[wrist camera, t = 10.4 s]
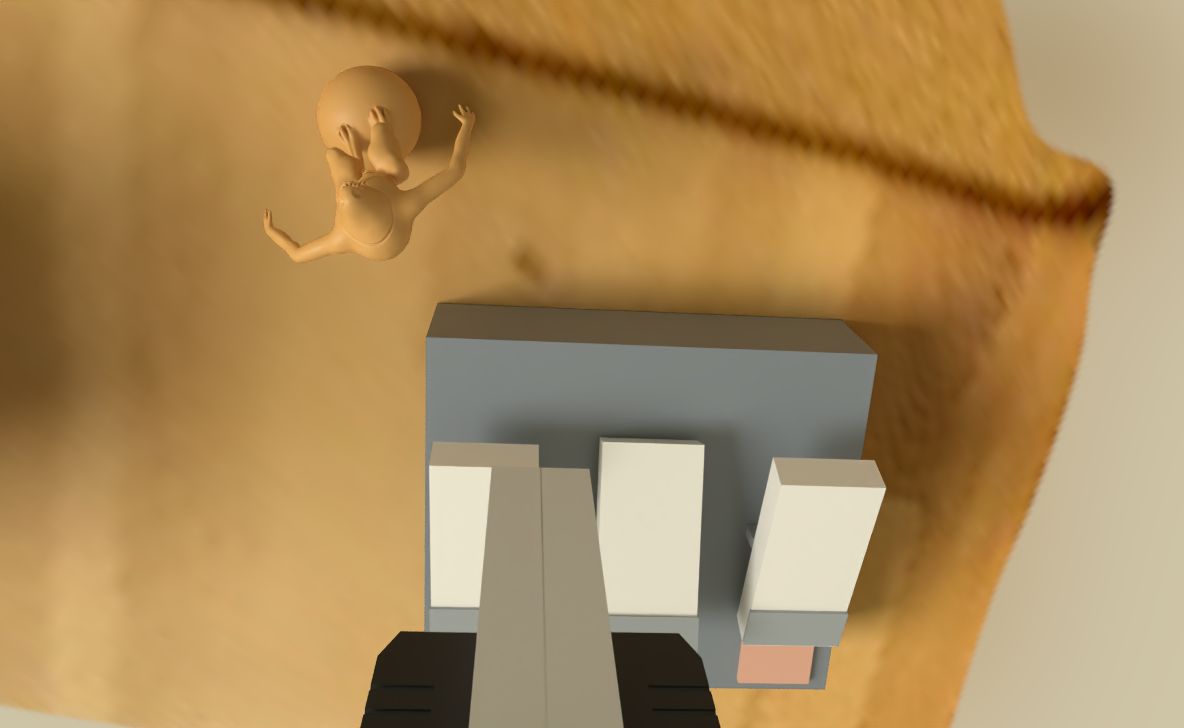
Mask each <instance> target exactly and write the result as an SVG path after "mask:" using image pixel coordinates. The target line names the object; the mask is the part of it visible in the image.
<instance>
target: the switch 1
mask: <svg viewBox="0 0 1184 728" xmlns="http://www.w3.org/2000/svg"><path fill="white" fill-rule="evenodd" d="M492 466H506V467H539V445H533V444H501V443H468V442H435V441H433V445H432V451H431V457H430V463H429V495H430V570H431V606H430V608H429V619H430V632H469V633H477V628H478V617H479V606H480V594H481V583H482V571H483V560H484V549H485V537H486V526H487V515H488V503H489V492H490V481H491V469H492Z"/></svg>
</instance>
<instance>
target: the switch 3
mask: <svg viewBox="0 0 1184 728" xmlns="http://www.w3.org/2000/svg"><path fill="white" fill-rule="evenodd" d="M885 491H886V486H885V484H884V481H883V479H882V477H881V474H880V472H879V470H878V467H877V465H876V462H875V460H850V459H817V458H784V457H773V460H772V464H771V469H770V473H769V477H768V482H767V486H766V490H765V495H764V499H763V503H762V508H761V512H760V517H759V521H758V525H757V530H756V534H755V538H754V543H753V547H752V552H751V556H750V560H749V565H748V569H747V573H746V578H745V582H744V586H743V591H742V595H741V600H740V604H739V608H738V613H737V619H738V624H739V629H740V634H741V639H742V643H743V645H764V646H827V647H836V646H839V643H840V640H841V637H842V634H843V631H844V628H845V625H846V622H847V618H848V615H849V613H848V611H847V609H848V606H849V603H850V600H851V597H852V594H853V590H854V587H855V584H856V581H857V578H858V575H859V572H860V569H861V565H862V562H863V559H864V556H865V553H866V550H867V547H868V544H869V540H870V537H871V534H872V531H873V528H874V525H875V522H876V519H877V515H878V512H879V509H880V506H881V503H882V500H883V497H884V494H885Z"/></svg>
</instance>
